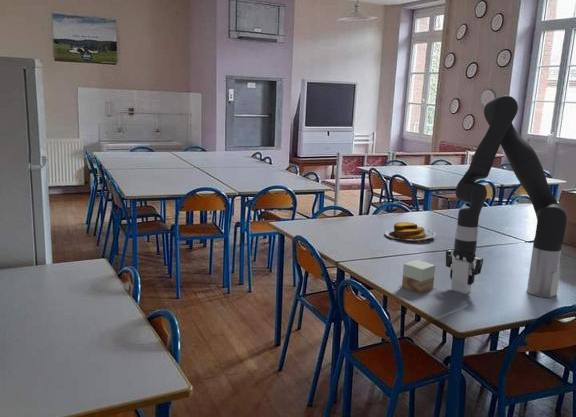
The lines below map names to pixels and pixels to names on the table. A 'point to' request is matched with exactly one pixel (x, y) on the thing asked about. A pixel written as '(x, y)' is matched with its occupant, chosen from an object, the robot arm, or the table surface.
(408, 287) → the lower block
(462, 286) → the skincare box
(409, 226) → the food on plate
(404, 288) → the mat
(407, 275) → the upper block
